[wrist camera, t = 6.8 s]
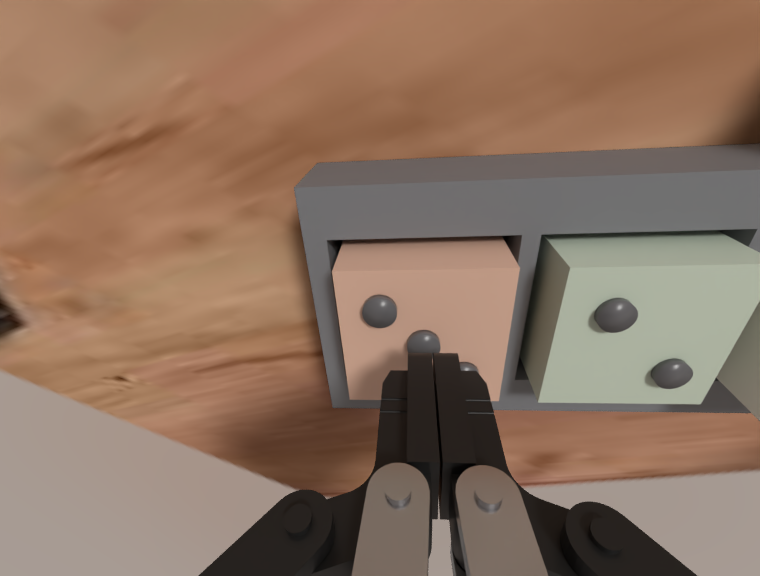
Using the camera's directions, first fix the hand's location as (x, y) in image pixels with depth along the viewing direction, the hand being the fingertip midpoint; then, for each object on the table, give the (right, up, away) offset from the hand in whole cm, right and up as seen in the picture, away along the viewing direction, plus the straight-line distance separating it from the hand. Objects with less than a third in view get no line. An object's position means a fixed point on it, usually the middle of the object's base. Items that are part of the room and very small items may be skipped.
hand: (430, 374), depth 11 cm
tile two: (+7, +2, +3) cm, 8 cm away
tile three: (0, +2, +4) cm, 4 cm away
